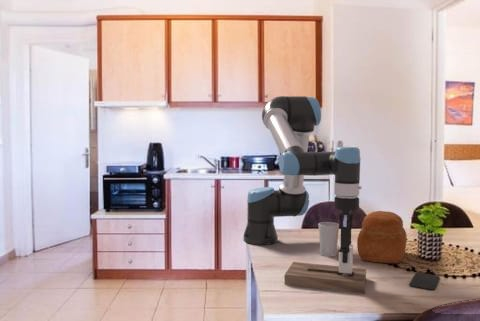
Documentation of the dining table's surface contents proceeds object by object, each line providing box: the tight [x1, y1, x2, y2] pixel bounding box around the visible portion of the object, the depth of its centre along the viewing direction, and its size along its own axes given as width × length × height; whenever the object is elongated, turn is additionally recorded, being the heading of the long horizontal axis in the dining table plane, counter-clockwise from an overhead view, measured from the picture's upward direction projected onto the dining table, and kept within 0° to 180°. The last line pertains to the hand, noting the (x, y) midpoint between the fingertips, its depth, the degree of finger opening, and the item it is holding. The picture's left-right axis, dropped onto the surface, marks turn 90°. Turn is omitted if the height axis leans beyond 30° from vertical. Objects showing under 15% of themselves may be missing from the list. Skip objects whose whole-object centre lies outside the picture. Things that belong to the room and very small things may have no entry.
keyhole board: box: [284, 261, 367, 294], centre depth 136 cm, size 14×24×3 cm, turn 72°
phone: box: [408, 272, 441, 291], centre depth 136 cm, size 7×1×15 cm
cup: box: [317, 221, 340, 257], centre depth 167 cm, size 8×8×12 cm
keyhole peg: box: [338, 243, 354, 276], centre depth 134 cm, size 4×4×12 cm
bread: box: [356, 210, 408, 264], centre depth 165 cm, size 18×22×17 cm
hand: (345, 270), depth 134 cm, fingers closed on keyhole peg, 4 cm apart
